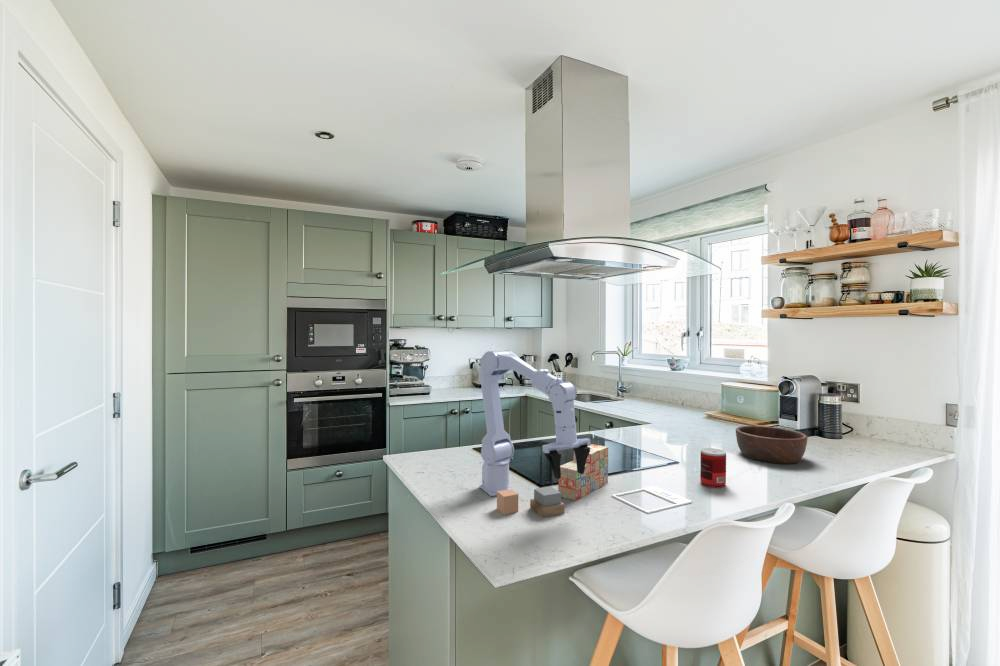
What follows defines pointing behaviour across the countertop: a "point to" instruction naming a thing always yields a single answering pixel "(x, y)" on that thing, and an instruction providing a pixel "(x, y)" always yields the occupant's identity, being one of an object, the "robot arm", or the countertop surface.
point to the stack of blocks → (593, 476)
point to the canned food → (713, 467)
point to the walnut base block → (547, 508)
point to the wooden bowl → (771, 444)
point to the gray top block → (547, 496)
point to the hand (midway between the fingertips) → (569, 475)
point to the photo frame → (659, 493)
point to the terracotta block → (507, 501)
